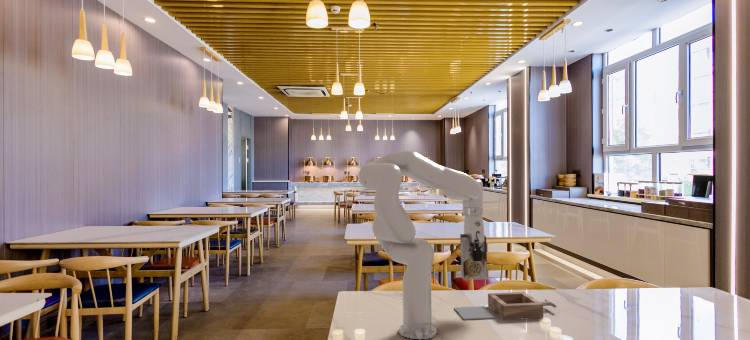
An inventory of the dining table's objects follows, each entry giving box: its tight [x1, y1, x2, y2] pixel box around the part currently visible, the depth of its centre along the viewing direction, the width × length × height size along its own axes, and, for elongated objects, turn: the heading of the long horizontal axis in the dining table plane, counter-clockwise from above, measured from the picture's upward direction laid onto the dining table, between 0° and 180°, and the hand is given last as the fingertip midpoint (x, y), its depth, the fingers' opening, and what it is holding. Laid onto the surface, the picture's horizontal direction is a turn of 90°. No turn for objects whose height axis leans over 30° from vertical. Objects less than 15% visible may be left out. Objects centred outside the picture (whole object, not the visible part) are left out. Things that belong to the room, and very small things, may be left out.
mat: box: [453, 305, 497, 321], centre depth 151 cm, size 12×12×1 cm
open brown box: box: [487, 291, 557, 320], centre depth 153 cm, size 15×23×5 cm, turn 96°
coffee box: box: [459, 233, 489, 281], centre depth 151 cm, size 9×6×16 cm
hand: (473, 258), depth 151 cm, fingers closed on coffee box, 7 cm apart
